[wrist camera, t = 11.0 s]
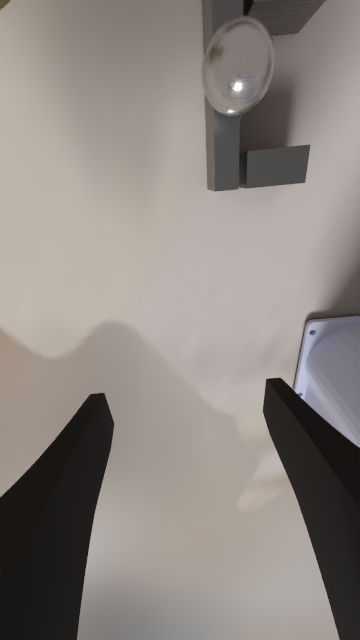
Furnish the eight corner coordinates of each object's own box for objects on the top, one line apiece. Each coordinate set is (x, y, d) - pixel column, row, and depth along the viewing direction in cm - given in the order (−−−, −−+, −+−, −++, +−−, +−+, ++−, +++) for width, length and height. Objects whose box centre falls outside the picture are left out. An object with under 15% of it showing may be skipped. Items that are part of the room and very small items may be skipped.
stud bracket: (282, 181, 15) (342, 183, 10) (196, 190, 16) (209, 197, 10) (302, -18, 11) (418, -190, 6) (186, -5, 12) (201, -164, 6)
